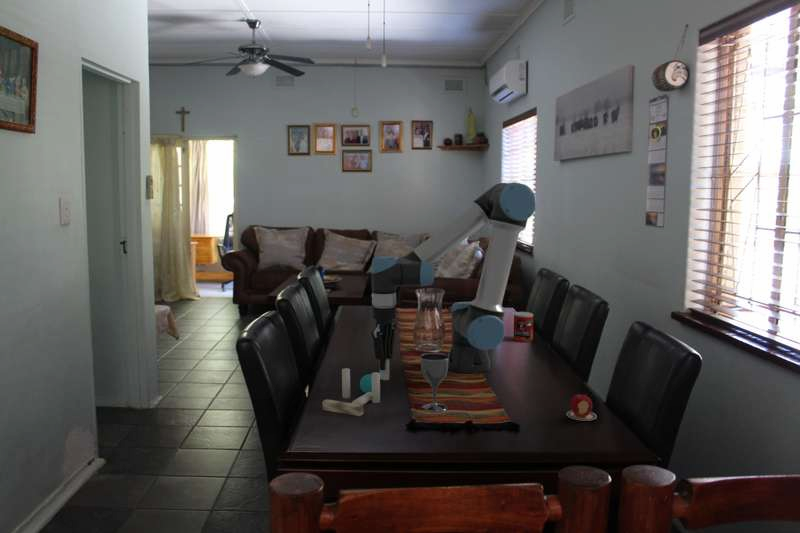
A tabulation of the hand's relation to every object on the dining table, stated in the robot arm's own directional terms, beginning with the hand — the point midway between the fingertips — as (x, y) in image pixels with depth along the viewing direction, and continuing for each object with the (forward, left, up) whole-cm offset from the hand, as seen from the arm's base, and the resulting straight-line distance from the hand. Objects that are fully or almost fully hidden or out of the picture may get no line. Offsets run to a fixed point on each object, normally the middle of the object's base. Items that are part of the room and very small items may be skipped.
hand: (384, 379), depth 206 cm
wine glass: (-22, +13, -2) cm, 26 cm away
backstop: (0, +27, -2) cm, 27 cm away
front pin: (-2, +14, -1) cm, 15 cm away
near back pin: (-5, +15, -2) cm, 16 cm away
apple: (-62, +3, -2) cm, 62 cm away
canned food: (-24, -77, -2) cm, 81 cm away
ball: (0, +10, +1) cm, 10 cm away
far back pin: (+5, +15, -2) cm, 16 cm away
